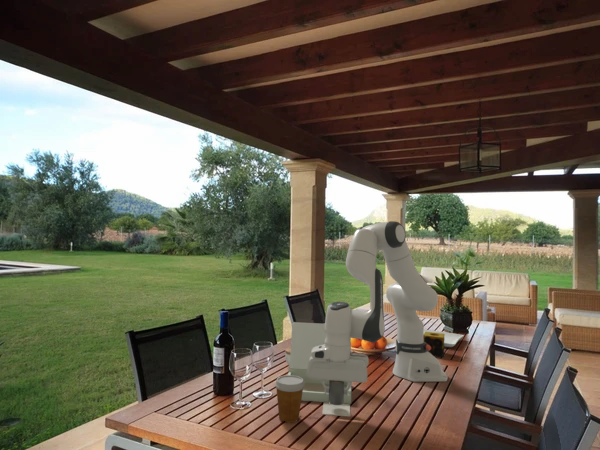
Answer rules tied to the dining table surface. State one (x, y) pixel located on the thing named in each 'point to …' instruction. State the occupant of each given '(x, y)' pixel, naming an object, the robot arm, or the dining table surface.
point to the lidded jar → (288, 355)
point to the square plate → (448, 338)
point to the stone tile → (336, 409)
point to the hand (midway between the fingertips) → (336, 393)
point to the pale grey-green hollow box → (300, 354)
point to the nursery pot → (336, 392)
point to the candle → (435, 343)
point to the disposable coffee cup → (289, 397)
